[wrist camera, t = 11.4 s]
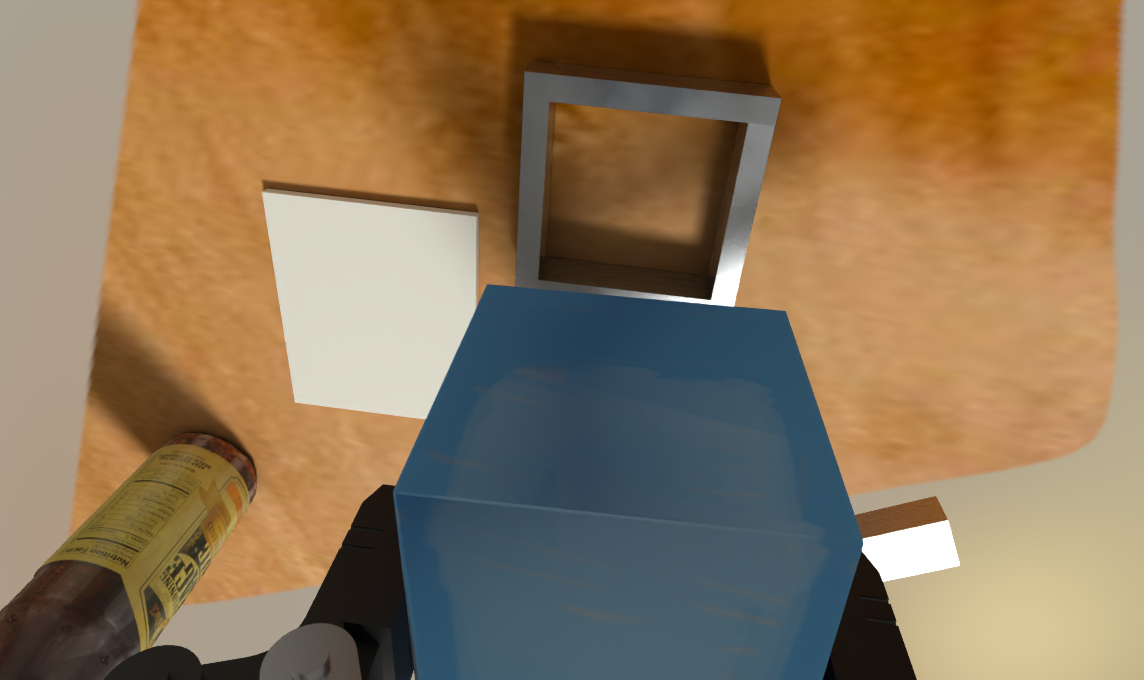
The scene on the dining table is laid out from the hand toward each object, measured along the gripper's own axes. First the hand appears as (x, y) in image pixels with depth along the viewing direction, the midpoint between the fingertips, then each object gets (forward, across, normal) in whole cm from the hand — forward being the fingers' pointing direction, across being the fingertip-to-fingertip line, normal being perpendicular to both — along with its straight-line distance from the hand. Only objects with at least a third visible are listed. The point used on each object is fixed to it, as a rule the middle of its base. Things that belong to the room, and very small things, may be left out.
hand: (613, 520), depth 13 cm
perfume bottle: (+3, 0, 0) cm, 3 cm away
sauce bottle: (+20, +23, +20) cm, 37 cm away
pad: (+20, +12, +8) cm, 25 cm away
